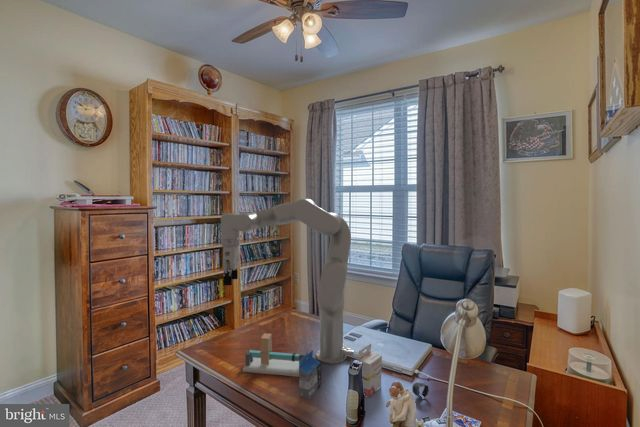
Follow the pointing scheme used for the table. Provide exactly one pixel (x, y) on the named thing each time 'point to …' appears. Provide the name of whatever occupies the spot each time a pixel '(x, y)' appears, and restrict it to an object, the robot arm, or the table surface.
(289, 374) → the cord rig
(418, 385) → the wristwatch
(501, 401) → the table surface
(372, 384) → the ink cartridge box
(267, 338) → the tan slotted box
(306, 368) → the label tape box
